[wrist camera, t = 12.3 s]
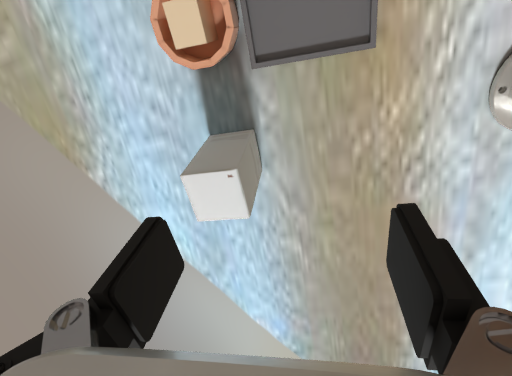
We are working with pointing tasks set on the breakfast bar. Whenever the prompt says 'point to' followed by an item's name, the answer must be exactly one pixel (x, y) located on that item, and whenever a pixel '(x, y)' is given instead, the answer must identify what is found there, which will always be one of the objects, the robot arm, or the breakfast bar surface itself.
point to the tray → (307, 29)
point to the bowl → (202, 53)
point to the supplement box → (224, 176)
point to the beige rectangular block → (190, 22)
